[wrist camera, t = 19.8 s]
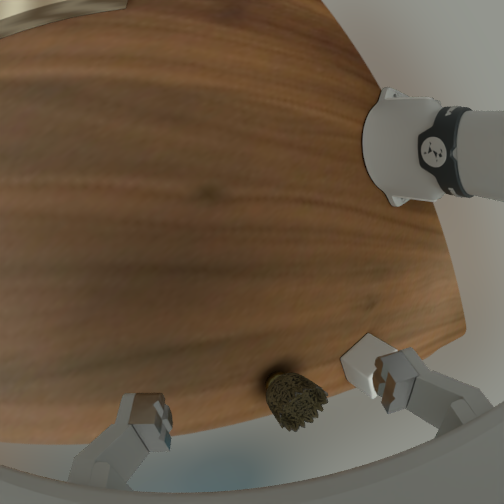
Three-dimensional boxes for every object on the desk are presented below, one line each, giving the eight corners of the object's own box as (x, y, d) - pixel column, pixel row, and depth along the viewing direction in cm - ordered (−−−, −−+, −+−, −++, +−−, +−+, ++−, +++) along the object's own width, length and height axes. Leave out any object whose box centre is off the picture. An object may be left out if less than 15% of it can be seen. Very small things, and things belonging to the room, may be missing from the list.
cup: (241, 386, 41) (271, 422, 34) (279, 349, 42) (314, 380, 35) (268, 405, 44) (297, 437, 38) (302, 372, 46) (335, 401, 39)
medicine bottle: (373, 355, 54) (420, 385, 44) (346, 380, 52) (392, 415, 42) (368, 331, 51) (420, 361, 41) (339, 357, 49) (390, 394, 39)
